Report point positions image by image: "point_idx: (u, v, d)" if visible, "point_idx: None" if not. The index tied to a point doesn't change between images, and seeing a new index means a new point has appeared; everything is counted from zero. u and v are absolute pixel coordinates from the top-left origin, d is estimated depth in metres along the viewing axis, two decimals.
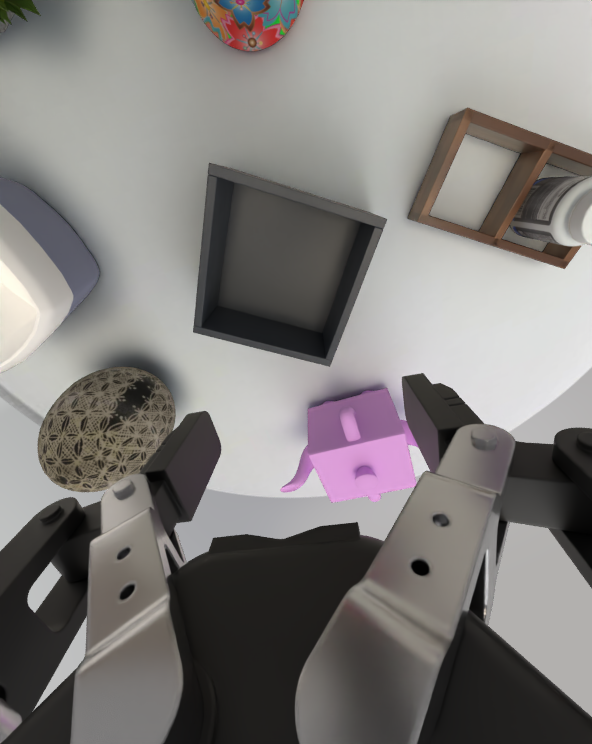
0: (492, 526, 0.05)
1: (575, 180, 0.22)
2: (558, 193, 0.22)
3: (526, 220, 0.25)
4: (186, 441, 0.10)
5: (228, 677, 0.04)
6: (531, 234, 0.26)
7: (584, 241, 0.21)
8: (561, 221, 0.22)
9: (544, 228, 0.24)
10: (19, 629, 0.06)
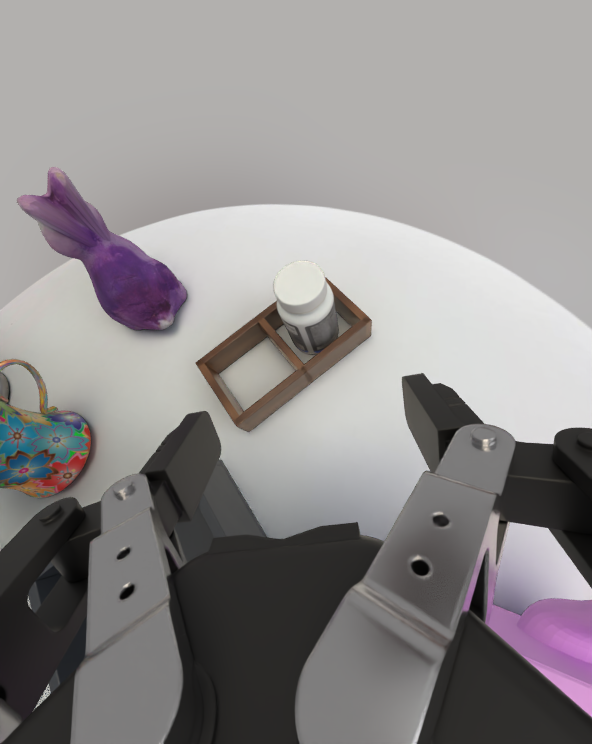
0: (492, 526, 0.05)
1: None
2: (281, 317, 0.25)
3: (303, 342, 0.27)
4: (186, 441, 0.10)
5: (228, 677, 0.04)
6: (317, 340, 0.26)
7: (309, 303, 0.22)
8: (293, 318, 0.23)
9: (302, 330, 0.24)
10: (19, 629, 0.06)
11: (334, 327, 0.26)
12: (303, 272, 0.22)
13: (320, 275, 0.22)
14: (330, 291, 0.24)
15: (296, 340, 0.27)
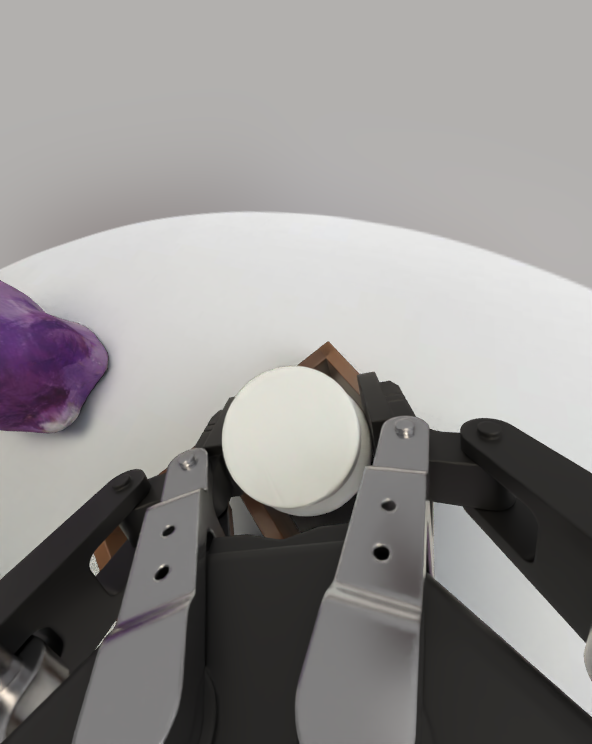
0: (427, 501, 0.06)
1: None
2: None
3: None
4: None
5: (228, 677, 0.04)
6: None
7: (315, 503, 0.08)
8: None
9: None
10: (80, 589, 0.07)
11: None
12: (300, 402, 0.08)
13: (346, 417, 0.08)
14: (365, 430, 0.10)
15: None
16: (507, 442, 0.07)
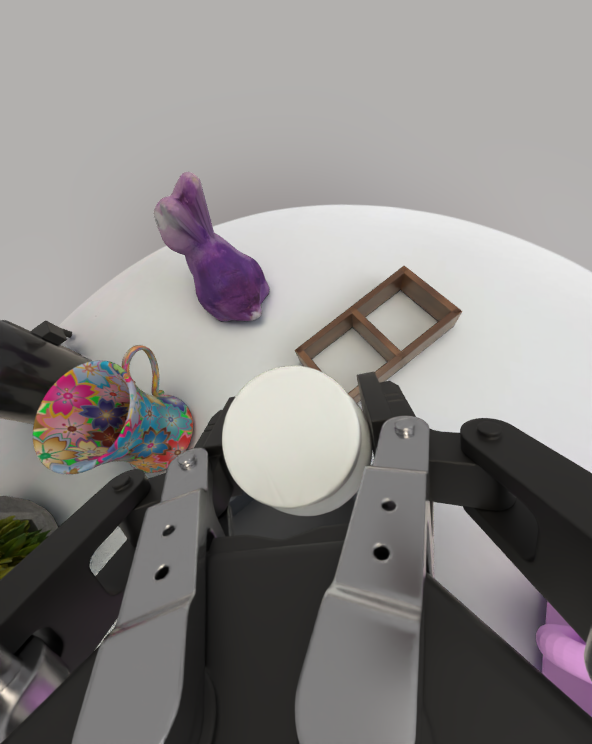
0: (427, 501, 0.06)
1: None
2: None
3: None
4: None
5: (228, 677, 0.04)
6: None
7: (315, 502, 0.08)
8: None
9: None
10: (79, 589, 0.07)
11: None
12: (300, 402, 0.08)
13: (346, 417, 0.08)
14: (366, 430, 0.10)
15: None
16: (507, 442, 0.07)
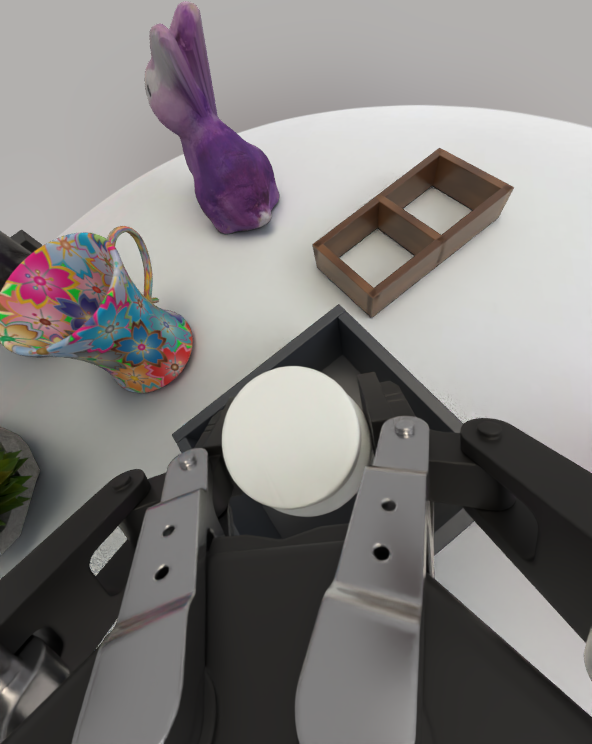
0: (427, 501, 0.06)
1: None
2: None
3: None
4: None
5: (228, 677, 0.04)
6: None
7: (315, 503, 0.08)
8: None
9: None
10: (80, 589, 0.07)
11: None
12: (300, 403, 0.08)
13: (346, 418, 0.08)
14: (365, 431, 0.10)
15: None
16: (507, 442, 0.07)
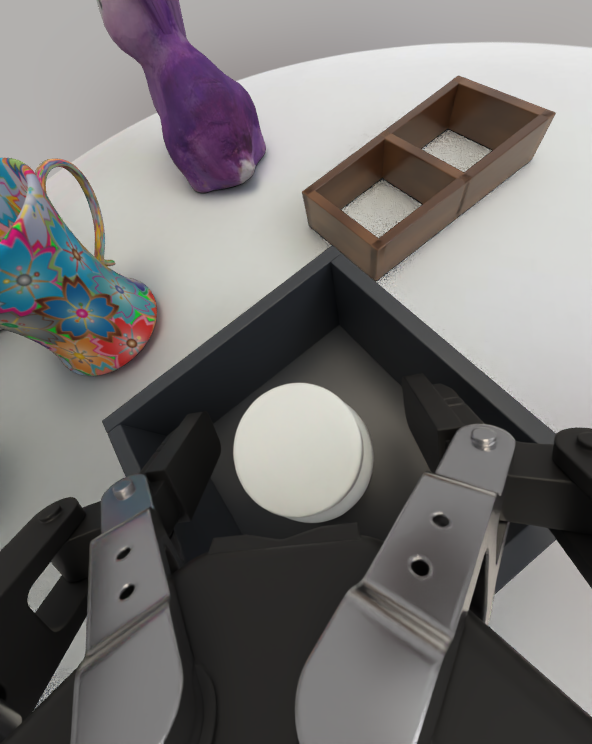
0: (492, 526, 0.05)
1: None
2: None
3: None
4: (186, 441, 0.10)
5: (228, 677, 0.04)
6: None
7: (321, 512, 0.08)
8: None
9: None
10: (19, 629, 0.06)
11: None
12: (306, 418, 0.09)
13: (349, 432, 0.09)
14: (367, 442, 0.10)
15: None
16: None
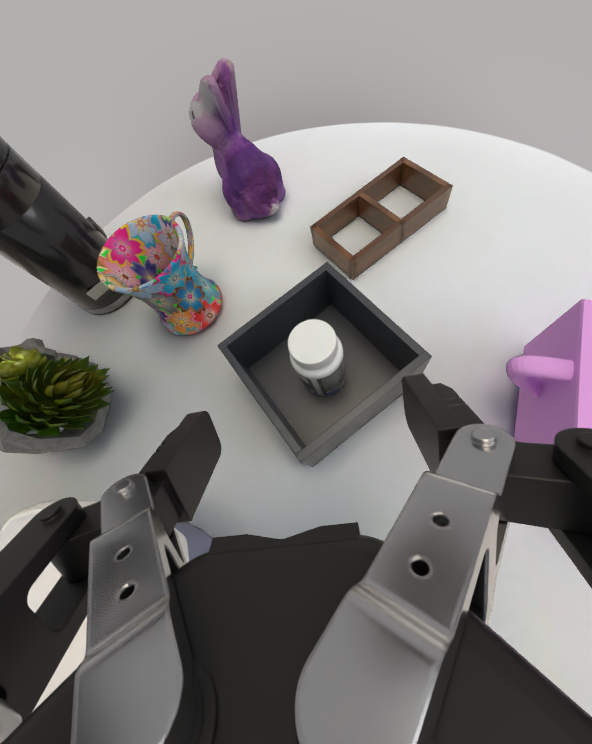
0: (492, 526, 0.05)
1: None
2: None
3: (313, 388, 0.28)
4: (186, 441, 0.10)
5: (228, 677, 0.04)
6: (327, 387, 0.28)
7: (321, 362, 0.23)
8: (306, 371, 0.25)
9: (314, 381, 0.26)
10: (19, 629, 0.06)
11: (343, 374, 0.28)
12: (316, 331, 0.24)
13: (332, 335, 0.24)
14: (340, 346, 0.25)
15: (307, 385, 0.29)
16: None
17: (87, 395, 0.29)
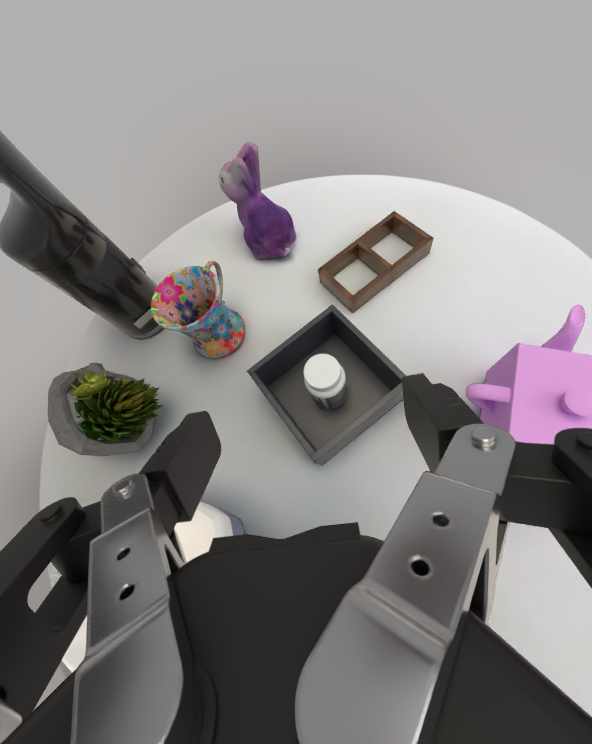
0: (492, 526, 0.05)
1: None
2: None
3: (322, 404, 0.36)
4: (186, 441, 0.10)
5: (228, 677, 0.04)
6: (332, 403, 0.36)
7: (329, 387, 0.31)
8: (317, 393, 0.33)
9: (323, 399, 0.34)
10: (19, 629, 0.06)
11: (345, 393, 0.36)
12: (324, 363, 0.32)
13: (337, 366, 0.31)
14: (343, 373, 0.33)
15: (317, 402, 0.36)
16: None
17: (144, 410, 0.37)
